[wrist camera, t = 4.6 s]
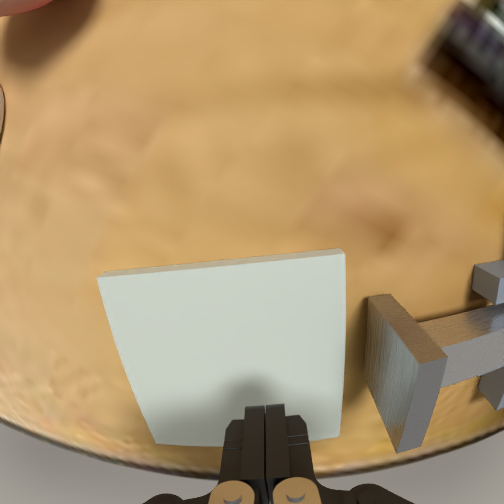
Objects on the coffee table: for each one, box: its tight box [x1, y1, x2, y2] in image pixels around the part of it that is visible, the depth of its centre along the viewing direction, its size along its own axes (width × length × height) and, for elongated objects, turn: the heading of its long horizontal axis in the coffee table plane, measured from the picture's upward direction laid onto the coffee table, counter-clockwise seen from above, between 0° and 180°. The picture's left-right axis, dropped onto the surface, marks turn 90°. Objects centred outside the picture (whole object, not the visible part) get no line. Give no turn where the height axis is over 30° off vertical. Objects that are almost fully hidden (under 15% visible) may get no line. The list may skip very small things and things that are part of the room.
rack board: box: [97, 248, 346, 447], centre depth 16 cm, size 12×12×1 cm
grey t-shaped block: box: [363, 294, 504, 454], centre depth 12 cm, size 5×9×6 cm, turn 96°
